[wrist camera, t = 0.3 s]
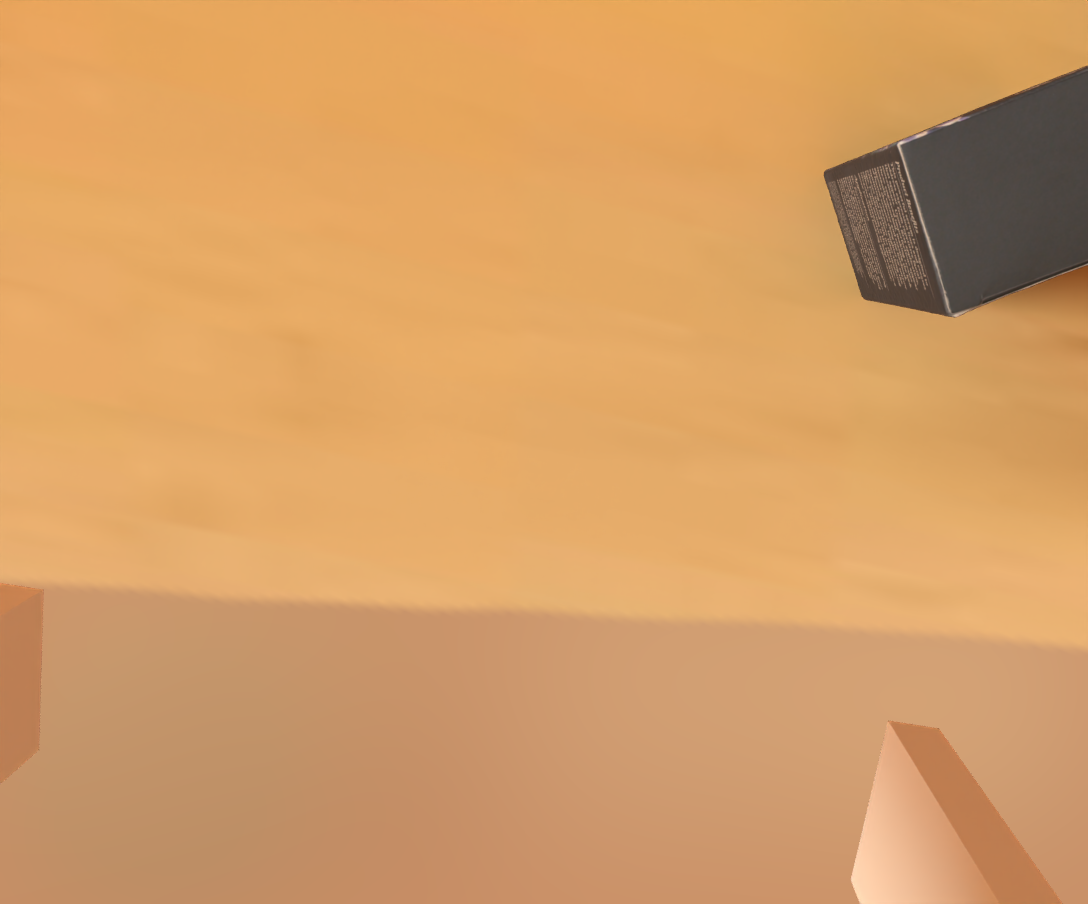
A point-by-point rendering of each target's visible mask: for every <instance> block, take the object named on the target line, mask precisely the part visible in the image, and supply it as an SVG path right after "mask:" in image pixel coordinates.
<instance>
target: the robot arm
mask: <svg viewBox="0 0 1088 904" xmlns="http://www.w3.org/2000/svg"><path fill="white" fill-rule="evenodd" d="M43 594H44V590H42V589H35V588H29V587H22V586H16V585H9V584H3V583H0V784H1V783H2V782H3V781H4V780H6V779H7V778H8V777H9V776H10V775H11V774H12V773H13V772H14V771H16V770H17V769H18V768H19V767H20V766H21V765H23V764H24V763H25V762H26V761H27V760H28V759H29V758H31V757H32V756H33V755H34V754H35V753H36V752H37V751H38V750H39V735H40V734H39V733H40V699H41V665H42V630H43V628H42V627H43ZM851 882H852V884H853V887H854V889H855V892H856V894H857V897H858V899H859V902H860V904H1062V902H1061V901H1060V899H1059V898H1058V896H1057V895H1056V894H1055V892H1054V891H1053V889H1052V888H1051V887H1050V885H1049V884H1048V882H1047V881H1046V879H1045V878H1044V877H1043V875H1042V874H1041V873H1040V871H1039V869H1038V868H1037V867H1036V865H1035V864H1034V862H1033V861H1032V860H1031V858H1030V857H1029V855H1028V854H1027V853H1026V851H1025V850H1024V848H1023V847H1022V845H1021V844H1020V843H1019V841H1018V840H1017V839H1016V837H1015V836H1014V834H1013V833H1012V831H1011V830H1010V828H1009V827H1008V826H1007V824H1006V823H1005V821H1004V820H1003V819H1002V817H1001V816H1000V814H999V813H998V812H997V810H996V809H995V807H994V806H993V804H992V803H991V802H990V800H989V799H988V798H987V796H986V795H985V793H984V792H983V790H982V789H981V787H980V786H979V785H978V783H977V782H976V780H975V779H974V778H973V776H972V775H971V774H970V772H969V771H968V769H967V768H966V766H965V765H964V763H963V762H962V761H961V759H960V758H959V756H958V755H957V754H956V752H955V751H954V749H953V748H952V747H951V745H950V744H949V742H948V741H947V739H946V738H945V737H944V735H943V734H942V732H941V731H940V730H939V728H932V727H925V726H919V725H913V724H906V723H900V722H893V721H888V724H887V728H886V732H885V737H884V740H883V745H882V749H881V754H880V758H879V762H878V767H877V771H876V775H875V779H874V783H873V788H872V792H871V797H870V801H869V805H868V809H867V813H866V817H865V822H864V826H863V830H862V835H861V839H860V843H859V848H858V852H857V856H856V860H855V865H854V869H853V874H852V878H851Z"/></svg>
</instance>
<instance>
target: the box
mask: <svg viewBox="0 0 1088 904" xmlns="http://www.w3.org/2000/svg"><path fill="white" fill-rule="evenodd" d="M824 178H825V181H826V184H827V187H828V190H829V193H830V196H831V200H832V202H833V206H834V209H835V212H836V215H837V218H838V222H839V225H840V228H841V231H842V234H843V238H844V241H845V244H846V247H847V251H848V254H849V257H850V260H851V263H852V266H853V269H854V272H855V276H856V279H857V282H858V286H859V289H860V292H861V295H862V297H863V298H864V299H865V300H869V301H875V302H880V303H885V304H891V305H896V306H901V307H906V308H910V309H916V310H920V311H926V312H930V313H935V314H940V315H944V316H949V317H958V316H961V315H963V314H965V313H966V312H968V311H971V310H973V309H975V308H978V307H980V306H982V305H985V304H988V303H990V302H992V301H995V300H997V299H1000V298H1002V297H1005V296H1007V295H1009V294H1012V293H1015V292H1018V291H1021V290H1024V289H1026V288H1029V287H1031V286H1034V285H1036V284H1039V283H1041V282H1044V281H1047V280H1049V279H1052V278H1054V277H1057V276H1059V275H1062V274H1064V273H1067V272H1070V271H1073V270H1076V269H1079V268H1081V267H1084V266H1087V265H1088V66H1085V67H1082V68H1080V69H1077V70H1075V71H1072V72H1069V73H1067V74H1064V75H1061V76H1059V77H1056V78H1054V79H1051V80H1049V81H1046V82H1044V83H1041V84H1038V85H1035V86H1033V87H1031V88H1028V89H1026V90H1023V91H1020V92H1018V93H1015V94H1013V95H1010V96H1008V97H1005V98H1003V99H1000V100H998V101H995V102H993V103H990V104H988V105H985V106H983V107H980V108H977V109H975V110H973V111H970V112H968V113H965V114H963V115H960V116H958V117H956V118H953V119H951V120H948V121H946V122H943V123H941V124H939V125H936V126H934V127H931V128H929V129H926V130H924V131H922V132H919V133H917V134H914V135H912V136H909V137H907V138H905V139H902V140H900V141H897V142H895V143H892V144H889V145H887V146H885V147H882V148H880V149H877V150H875V151H873V152H870V153H867V154H865V155H863V156H860V157H858V158H856V159H853V160H850V161H847V162H845V163H843V164H840V165H838V166H836V167H833V168H830V169H828V170H826V171H825V172H824Z"/></svg>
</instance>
